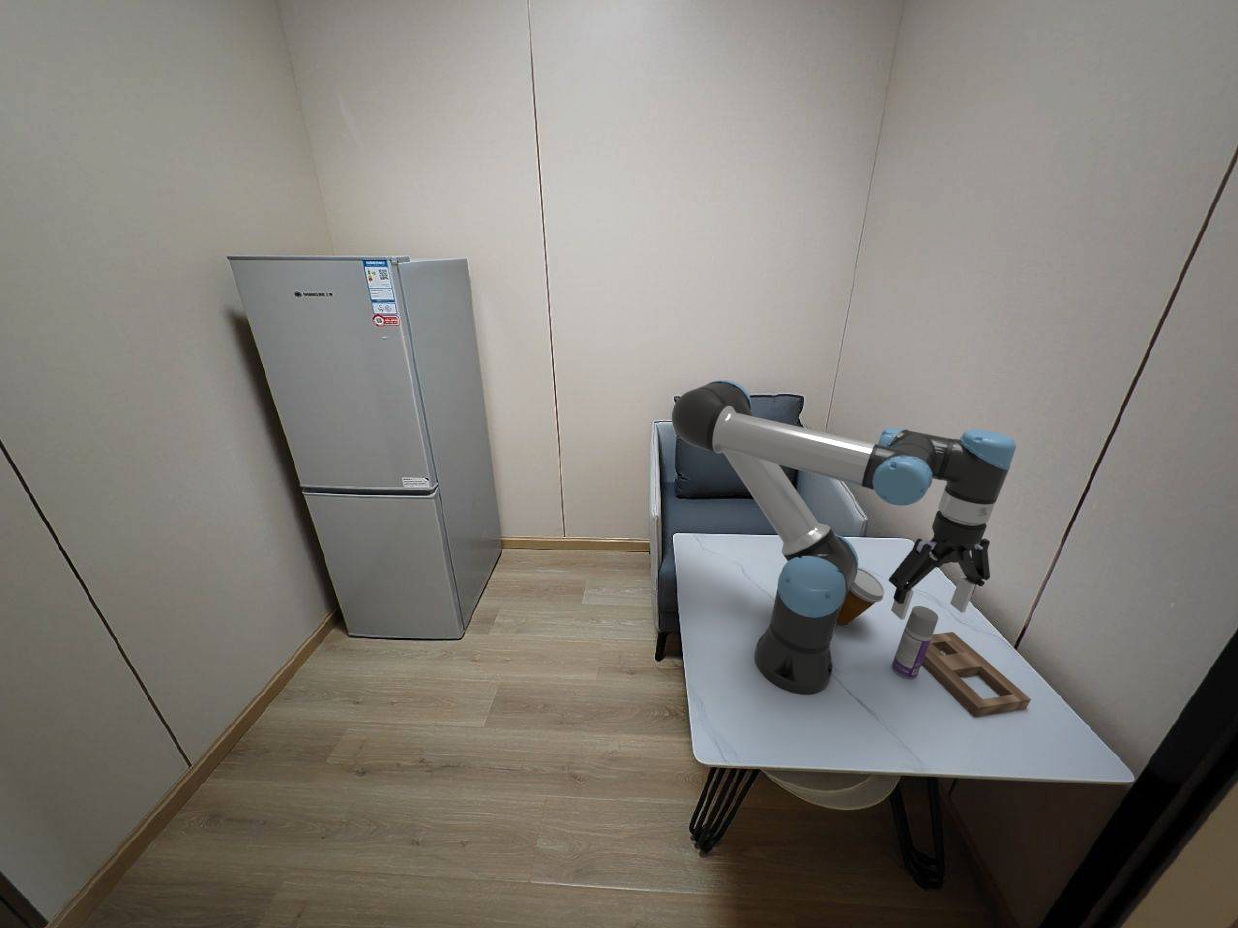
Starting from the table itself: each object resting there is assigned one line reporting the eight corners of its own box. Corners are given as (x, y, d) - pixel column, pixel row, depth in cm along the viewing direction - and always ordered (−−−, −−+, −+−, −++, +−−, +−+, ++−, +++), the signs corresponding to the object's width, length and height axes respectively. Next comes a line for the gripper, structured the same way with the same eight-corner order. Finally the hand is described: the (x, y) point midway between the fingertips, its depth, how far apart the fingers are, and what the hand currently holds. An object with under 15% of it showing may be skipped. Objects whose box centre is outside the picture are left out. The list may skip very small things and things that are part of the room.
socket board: (974, 717, 88) (978, 707, 87) (903, 646, 104) (907, 637, 103) (1026, 708, 90) (1031, 699, 89) (949, 640, 106) (953, 631, 105)
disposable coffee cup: (820, 620, 108) (850, 585, 102) (815, 592, 116) (842, 558, 110) (859, 638, 107) (891, 604, 101) (851, 608, 115) (880, 575, 109)
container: (910, 662, 100) (931, 606, 94) (921, 680, 95) (944, 622, 90) (887, 660, 100) (907, 604, 94) (897, 677, 96) (918, 620, 90)
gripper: (917, 532, 78) (885, 631, 86) (1040, 522, 82) (998, 617, 90) (886, 510, 84) (859, 604, 93) (1000, 502, 89) (965, 593, 97)
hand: (927, 611), depth 92 cm, fingers open, 13 cm apart
